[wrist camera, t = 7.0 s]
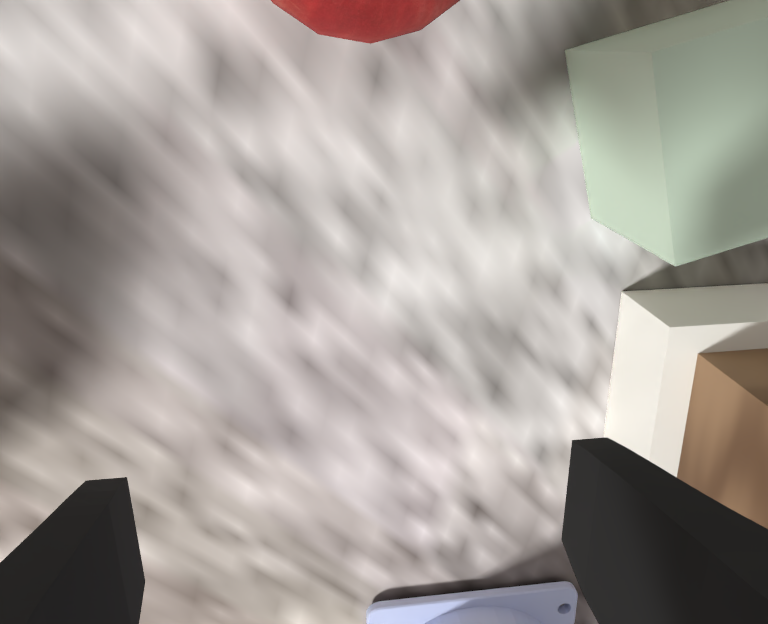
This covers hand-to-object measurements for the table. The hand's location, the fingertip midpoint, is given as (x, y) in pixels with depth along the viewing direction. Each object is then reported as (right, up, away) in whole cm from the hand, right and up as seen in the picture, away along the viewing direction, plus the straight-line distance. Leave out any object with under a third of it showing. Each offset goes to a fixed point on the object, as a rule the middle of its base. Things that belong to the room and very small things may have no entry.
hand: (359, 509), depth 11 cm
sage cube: (+9, +9, +9) cm, 15 cm away
